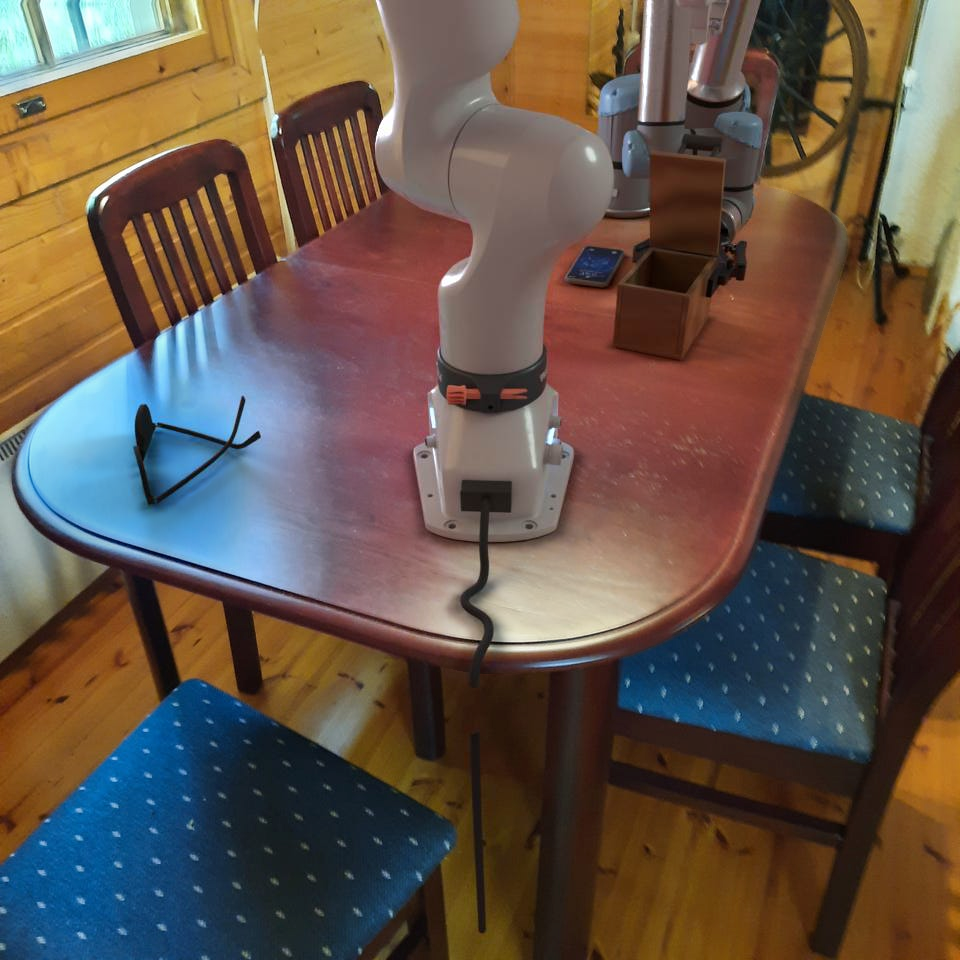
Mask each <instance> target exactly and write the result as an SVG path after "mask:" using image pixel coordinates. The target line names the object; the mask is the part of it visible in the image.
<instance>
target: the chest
mask: <svg viewBox="0 0 960 960" xmlns="http://www.w3.org/2000/svg"><path fill="white" fill-rule="evenodd" d="M716 262H717V258H715V257H708V256H702V255H695V254H689V253H682V252H676V251H669V250H663V249H656V248H650V249H649V250H648V251H647V252H646V253H645V254H644V255H643V256H642V257H641V259H640V260H639V261H638V262H637V263H634V265H633V266H632V267H631V268H630V270H629V271H628V272H627V273H626V274H625V275H624V276H623V277H622V278H621V280H620V281H619V282H618V283H617V287H616V288H617V289H616V298H615V299H616V301H615V313H614V314H615V315H614V326H613V337H612V347H613V348H619V349H624V350H628V351H633V352H639V353H644V354H648V355H652V356H653V355H654V356H658V357H662V358H668V359H672V360H677V361H682V360H683V358H684V356H686V354H687V352H688V350H689V349H690V347H691V345H693V343H694V341H695V339H696V338H697V336H698V335H699V333H700V332H701V330H702V329H703V327H704V326H705V324H706V323H707V321H708V319H709V315H710V308H711V302H712V297H711V298H709V297H706V292H707V285H708V279H709V278H710V276H711V275H712V273H713V272H714V270H715V269H716Z"/></svg>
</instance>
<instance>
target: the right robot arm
mask: <svg viewBox="0 0 960 960" xmlns="http://www.w3.org/2000/svg"><path fill="white" fill-rule="evenodd" d="M761 1H762V0H729V4H728V7H727V10H726V13H725V16H724V20H723V27H722V32H721V33H720V34H718V35H716V36H713V35H709V38H708V41H707V42H706V43H704V44H702V45H699V44H695V48H694V52H693V56H692V61H691V51H692V50H691V48H692V42H691V35H692V22H691V7H681V6H678V5H677V2H676V0H643V15H642V30H641V31H642V33H641V51H640V68H639V69H640V70H639V73H633V74H627V75H623V76H619V77H617V78H614V79H612V80H610V81H608V82H607V83H605V84H604V85H603V87H602V88H601V90H600V95H599V101H598V102H599V103H598V108H597V115H598V116H597V117H598V118H597V119H598V120H597V134H596V135H597V136H599V137H600V138H601V139H602V140H603V141H604V143H605V144H606V146H607V148H608V150H609V153H610V156H611V159H612V164H613V169H614V187H613V193H612V198H611V201H610V204H609V207H608V209H607V211H606V213H605V215H604V216H603V217H608V218H613V219H614V218H615V219H638V218H644V217H648V216H649V217H650V153H651V151H660V152H669V153H677V152H678V150H679V148H680V146H681V143H682V138H683V135H684V134H693V135H703V136H713V137H723V138H724V146H723V150H722V152H721V153H720V152H718V154H717V156H716V158H723V159H726V164H725V176H724V189H723V202H722V215H721V227H720V240H719V252H718V255H717V256H713V255H707V254H700V253H694V252H687V251H681V250H674V249H668V248H661V247H655V246H650V237H649V238H647V239H645V240H643V241H641V242H639V243H637V244H635V245H633V248H632V256H631V257H632V258H631V259H632V260H631V263H632V264H636V263H637V262H638V261H639V260H640V259H641V257H642V256H643V255H644V254H645V253H646V252H647V251H648V250H649V249H650V248H656V249H663V250H669V251H676V252H682V253H689V254H695V255H702V256H708V257H715V258H717V262H716V269H715V270H714V272H713V273H712V275H711V276H710V278H709V279H708V285H707V292H706V297H709V298H711V299H712V297H713V295H714V294H715V292H716V291H717V289H718V288H719V286H721V287H725V286H727V284H728V283H729V281H731V280H732V279H734V278H735V280H736V281H740V282H743V281H744V280H745V279H746V278H745V277H746V272H747V266H748V263H747V258H746V253H747V246H748V241H746V240H739V242H734V241H735V239H736V238H737V236H738V235H739V234H740V232H741V230H742V229H743V228H744V227H745V225H747V223H748V222H749V220H750V219H751V217H752V214H753V211H754V208H755V204H756V203H755V202H756V200H755V196H754V188H755V186H754V184H755V178H756V173H757V169H758V162H759V158H760V153H761V149H762V137H763V125H764V124H763V120H762V118H761V117H760V116H758V115H757V114H754V113H751V112H749V109H750V108H751V100H752V99H751V98H752V97H751V89H750V87H749V84H748V83H747V82H746V77H745V75H744V73H743V72H742V67H743V63H744V59H745V56H746V53H747V49H748V46H749V43H750V42H749V41H750V38H751V35H752V32H753V28H754V24H755V22H756V18H757V15H758V11H759V8H760V4H761ZM690 61H691V62H690ZM711 153H712V152H710V151H701V150H692V149H686V150H685V152H684V154H687V155H696V156H705V157H709V156H710V154H711ZM733 242H734V243H733ZM728 253H730V255H732V256H731V257H729V255H728Z"/></svg>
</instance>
